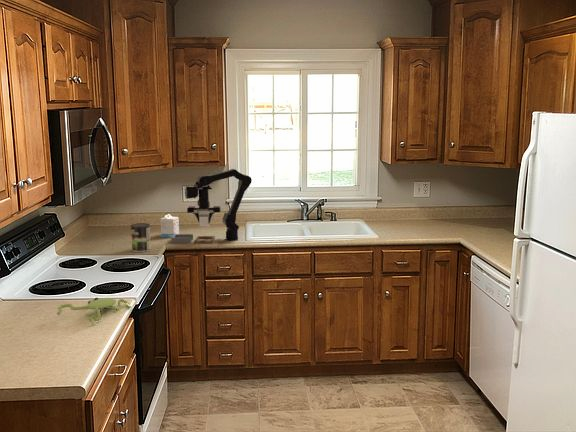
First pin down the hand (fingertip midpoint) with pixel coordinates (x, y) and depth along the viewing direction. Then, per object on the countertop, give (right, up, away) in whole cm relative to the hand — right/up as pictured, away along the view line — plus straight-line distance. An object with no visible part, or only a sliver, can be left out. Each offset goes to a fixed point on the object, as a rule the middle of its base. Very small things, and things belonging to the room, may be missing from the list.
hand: (204, 224), depth 355 cm
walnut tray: (0, -10, +2) cm, 10 cm away
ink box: (-23, -8, +15) cm, 29 cm away
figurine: (-27, -34, -118) cm, 125 cm away
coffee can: (-32, -14, -17) cm, 39 cm away
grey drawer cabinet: (-13, -10, +2) cm, 17 cm away
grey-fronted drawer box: (0, -1, 0) cm, 1 cm away
